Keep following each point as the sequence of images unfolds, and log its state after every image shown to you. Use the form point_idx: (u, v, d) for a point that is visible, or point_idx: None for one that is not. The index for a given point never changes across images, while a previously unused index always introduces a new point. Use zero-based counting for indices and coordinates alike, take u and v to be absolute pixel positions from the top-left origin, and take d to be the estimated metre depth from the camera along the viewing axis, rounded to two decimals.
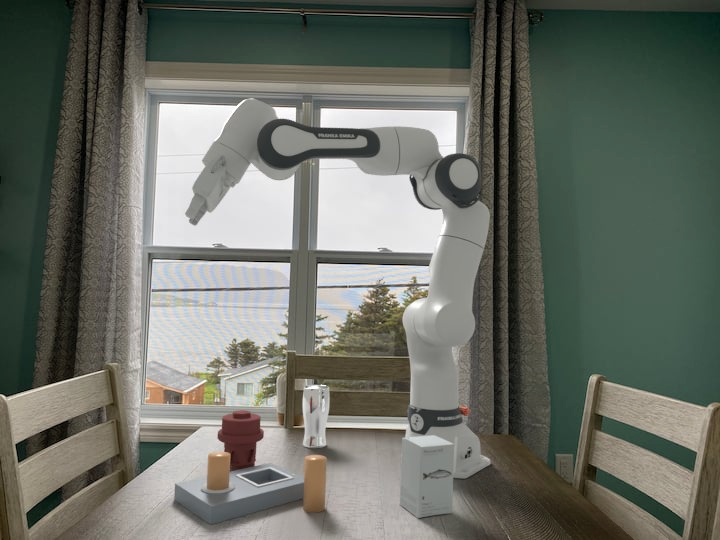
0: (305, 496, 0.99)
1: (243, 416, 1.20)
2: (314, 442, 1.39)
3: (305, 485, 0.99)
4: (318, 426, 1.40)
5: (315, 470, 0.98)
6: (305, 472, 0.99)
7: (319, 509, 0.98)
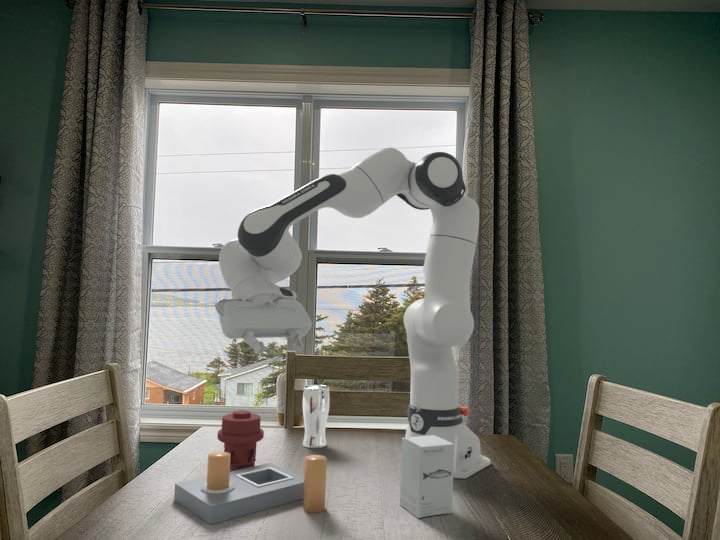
0: (305, 496, 0.99)
1: (243, 416, 1.20)
2: (314, 442, 1.39)
3: (305, 485, 0.99)
4: (318, 426, 1.40)
5: (315, 470, 0.98)
6: (305, 472, 0.99)
7: (319, 509, 0.98)
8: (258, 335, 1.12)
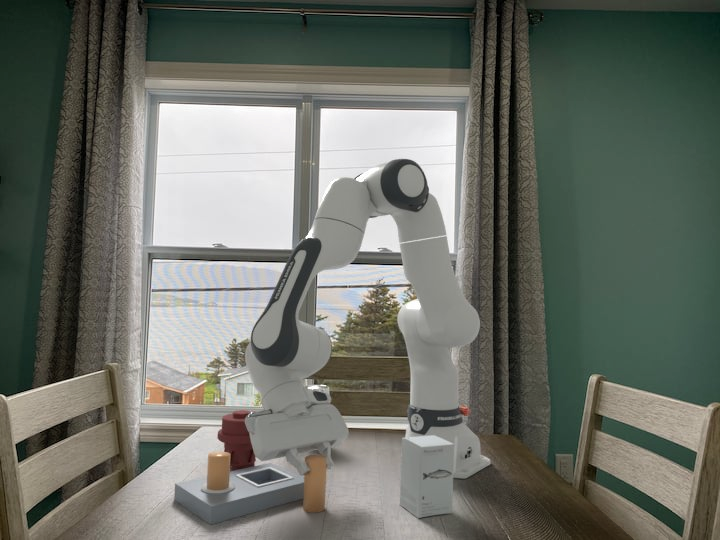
0: (305, 496, 0.99)
1: (243, 416, 1.20)
2: None
3: (305, 485, 0.99)
4: None
5: (315, 470, 0.98)
6: None
7: (319, 509, 0.98)
8: None
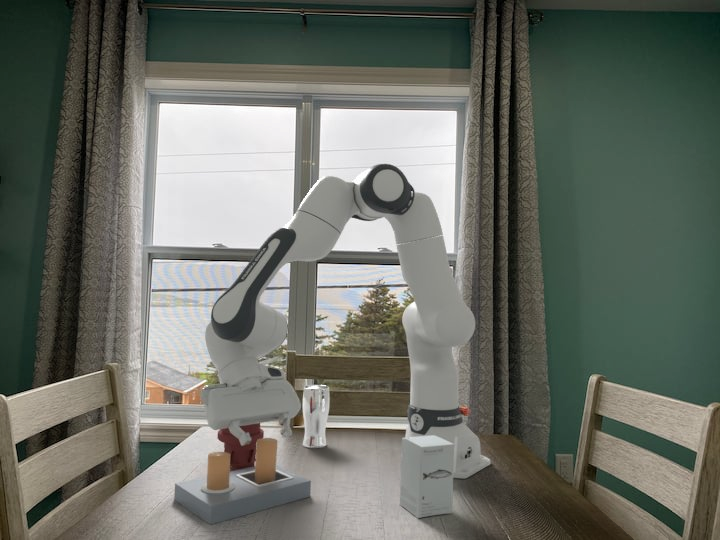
0: (256, 476, 1.06)
1: None
2: (314, 442, 1.39)
3: (256, 465, 1.06)
4: (318, 426, 1.40)
5: (265, 451, 1.05)
6: (256, 453, 1.06)
7: None
8: (245, 422, 1.08)
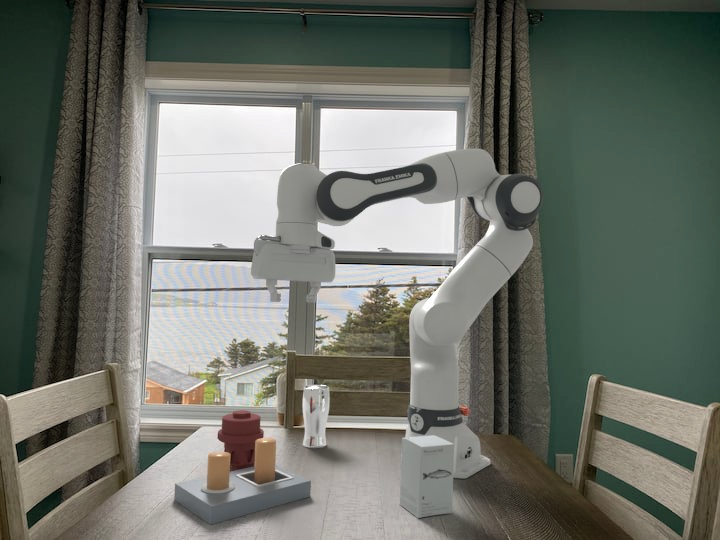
0: (256, 476, 1.06)
1: (243, 416, 1.20)
2: (314, 442, 1.39)
3: (256, 466, 1.06)
4: (318, 426, 1.40)
5: (264, 452, 1.05)
6: (256, 454, 1.06)
7: None
8: None
